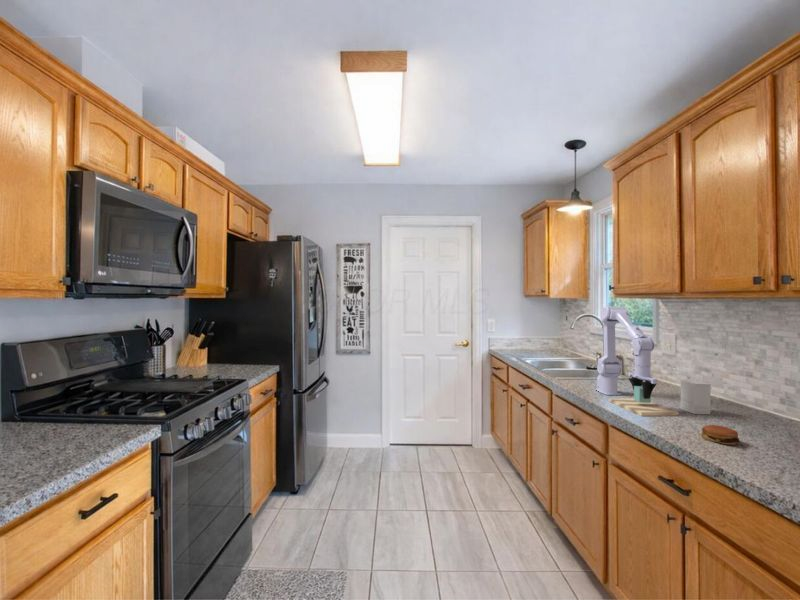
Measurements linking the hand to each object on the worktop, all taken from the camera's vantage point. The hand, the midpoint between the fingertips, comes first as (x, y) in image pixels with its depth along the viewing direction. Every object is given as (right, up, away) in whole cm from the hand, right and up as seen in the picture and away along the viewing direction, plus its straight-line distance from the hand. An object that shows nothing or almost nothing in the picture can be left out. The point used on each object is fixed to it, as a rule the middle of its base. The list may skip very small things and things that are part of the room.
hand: (642, 396), depth 158 cm
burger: (+3, -6, -35) cm, 36 cm away
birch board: (0, -5, 0) cm, 5 cm away
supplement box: (+20, -6, -3) cm, 21 cm away
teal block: (0, -2, 0) cm, 2 cm away
